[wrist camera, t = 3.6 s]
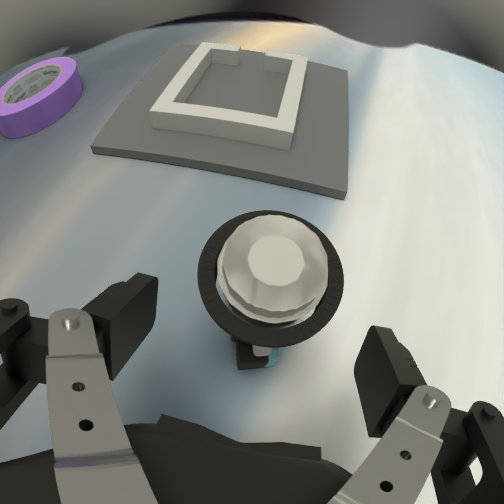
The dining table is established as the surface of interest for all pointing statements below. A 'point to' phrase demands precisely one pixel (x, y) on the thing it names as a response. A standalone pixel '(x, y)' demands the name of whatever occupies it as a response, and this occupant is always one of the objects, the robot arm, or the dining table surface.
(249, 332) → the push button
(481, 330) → the dining table surface
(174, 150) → the plate
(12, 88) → the masking tape
